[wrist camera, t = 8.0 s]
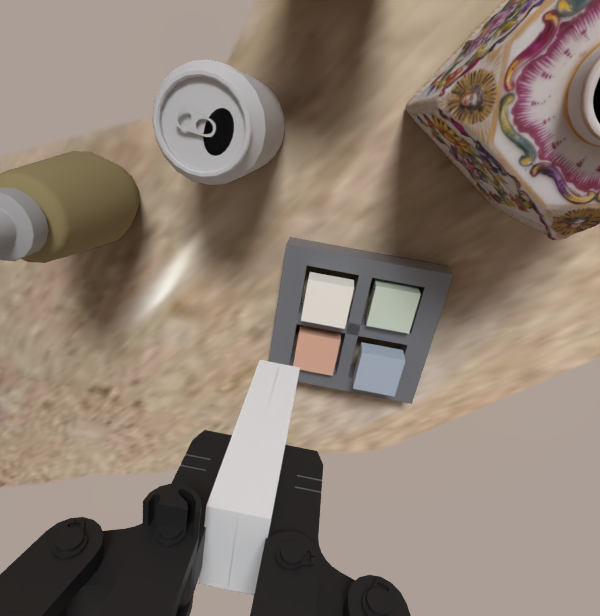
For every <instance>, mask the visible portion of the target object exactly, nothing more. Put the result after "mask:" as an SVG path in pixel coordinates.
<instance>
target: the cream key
mask: <svg viewBox="0 0 600 616" xmlns="http://www.w3.org/2000/svg"><path fill="white" fill-rule="evenodd" d="M353 291H354V280H351V279H346V278H341V277H335V276H330V275H325V274H319V273H314V272H310V274H309V278H308V283H307V289H306V294H305V300H304V306H303V311H302V317H301V321H305V322H311V323H316V324H321V325H327V326H332V327H337V328H342V329H345V326H346V322H347V317H348V313H349V308H350V304H351V300H352V295H353Z"/></svg>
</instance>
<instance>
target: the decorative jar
mask: <svg viewBox="0 0 600 616" xmlns="http://www.w3.org/2000/svg"><path fill="white" fill-rule="evenodd" d="M406 110H407V112H408V113H409V115H410V116H411V117H412V118H413V119H414V121H415V122H416V123H417V124H418V125H419V126H420V127H421V128H422V129H423V130H424V131H425V132H426V133H427V135H428V136H429V137H430V138H431V139H432V140H433V141H434V142H435V144H436V145H437V146H438V147H439V148H440V149H441V150H442V151H443V152H444V154H445V155H446V156H447V157H448V158H449V159H450V161H451V162H452V163H453V164H454V165H455V166H456V167H457V168H458V169H459V170H460V171H461V172H462V174H463V175H464V176H465V177H466V178H467V179H468V180H469V181H470V182H471V183H472V184H473V185H474V186H475V187H476V189H477V190H478V191H479V192H480V193H481V194H482V195H483V196H484V197H485V199H486V200H488V202H489V203H490V204H491V205H492V206H494V207H495V208H497V209H499V210H501V211H502V212H504V213H506V214H508V215H509V216H511V217H513V218H515V219H516V220H518V221H520V222H522V223H524V224H526V225H528V226H530V227H532V228H534V229H537V230H538V231H540V232H542V233H544V234H546V235H547V236H548V237H549V238H550V239H552V240H560V239H564V238H567V237H569V236H570V235H572V234H575V233H577V232H580V231H584V230H586V229H588V228H591V227H594V226H596V225H598V224H599V223H600V0H504V1H503V2H502V3H501V4H500V5H499V6H498V7H497V8H496V9H495V10H494V11H493V12H492V13H491V14H490V15H489V16H488V17H487V18H486V19H485V20H484V21H483V23H482V24H481V25H480V26H479V27H478V28H477V29H476V30H475V31H474V32H473V33H472V34H471V35H470V36H469V37H468V38H467V39H466V40H465V42H464V43H463V44H462V45H461V46H460V47H459V48H458V49H457V50H456V51H455V52H454V53H453V54H452V55H451V56H450V58H448V59H447V60H446V62H445V63H444V64H443V65H442V66H441V67H440V68H439V69H438V70H437V71H436V72H435V73H434V74H433V75H432V76H431V77H430V79H429V80H428V81H427V82H426V83H425V84H424V85H423V87H422V88H421V89H420V90H419V91H418V92H417V93H416V94H415V95H414V96H413V97H412V98H411V100H410V101H409V102H408V103H407V104H406Z"/></svg>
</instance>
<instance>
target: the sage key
mask: <svg viewBox="0 0 600 616" xmlns="http://www.w3.org/2000/svg"><path fill="white" fill-rule="evenodd" d="M420 295H421V293H420V291H419V289H418V286H413V285H408V284H402V283H397V282H392V281H386V280H381V279H375V280H374V284H373V288H372V292H371V296H370V300H369V304H368V308H367V312H366V316H365V318H366V326H370V327H376V328H381V329H386V330H392V331H397V332H402V333H408V334H409V332H410V329H411V325H412V322H413V319H414V315H415V312H416V309H417V305H418V302H419V299H420Z"/></svg>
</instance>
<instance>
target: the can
mask: <svg viewBox="0 0 600 616" xmlns="http://www.w3.org/2000/svg"><path fill="white" fill-rule="evenodd" d="M152 122H153V127H154V132H155V137H156V141H157V143H158V145H159V147H160V149H161V151H162V153H163V155H164V157H165V158H166V159H167V160H168V162H169V163H170V164H171V165H172V166H173V167H174V168H175V169H176V171H178V172H179V173H181V174H182V175H184V176H185V177H187V178H189V179H190V180H192V181H195V182H199V183H203V184H206V185H218V184H227V183H229V182H231V181H234V180H236V179H238V178H241V177H243V176H245V175H246V174H248V173H250V172H252V171H254V170H256V169H258V168H260V167H262V166H264V165H266V164H267V163H268V162H269V161H270V160H271V159H272V158H273V157H274V156H275V155H276V153H277V151H278V149H279V148H280V146H281V144H282V140H283V135H284V131H285V125H284V114H283V111H282V109H281V106H280V103H279V101H278V99H277V98H276V96H275V95H274V94H273V92H272V91H271V90H270V89H269V87H267V86H266V85H264V84H263V83H261V82H260V81H258V80H257V79H255V78H253V77H251V76H249V75H247V74H245V73H243V72H241V71H239V70H237V69H235V68H233V67H231V66H229V65H227V64H224V63H220V62H216V61H213V60H209V59H208V60H198V61H190V62H188V63H186V64H184V65H182V66H180V67H178V68H176V69H174V70H173V71H172V72H171V73H170V74H169V76H168V77H167V78H166V79H165V80H164V81H163V82H162V83H161V86H160V88H159V90H158V93H157V96H156V98H155V100H154V107H153V119H152Z"/></svg>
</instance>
